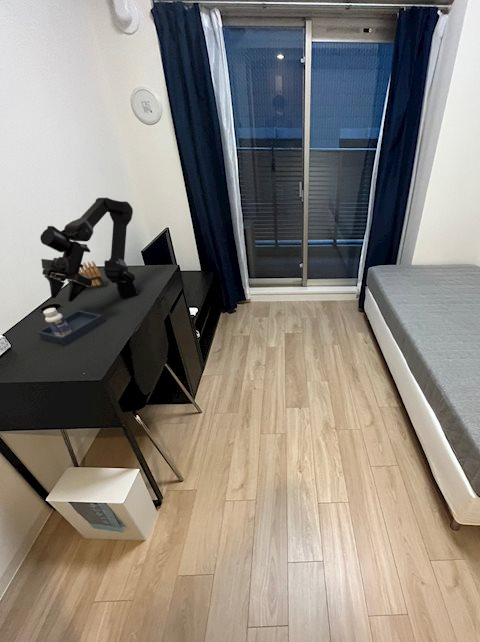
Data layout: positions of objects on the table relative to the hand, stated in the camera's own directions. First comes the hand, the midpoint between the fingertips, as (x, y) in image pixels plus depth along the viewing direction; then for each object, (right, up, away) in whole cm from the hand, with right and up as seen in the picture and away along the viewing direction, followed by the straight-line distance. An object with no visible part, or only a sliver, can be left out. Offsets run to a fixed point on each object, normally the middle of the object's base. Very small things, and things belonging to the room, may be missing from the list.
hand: (61, 299), depth 119 cm
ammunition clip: (-11, +15, +36) cm, 41 cm away
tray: (0, -10, +7) cm, 12 cm away
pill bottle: (-2, -12, +4) cm, 13 cm away
